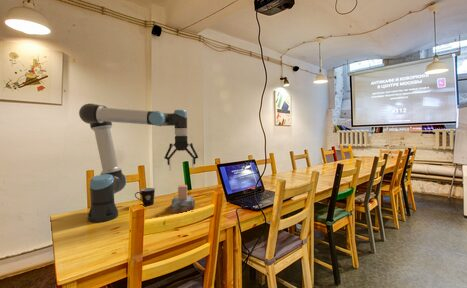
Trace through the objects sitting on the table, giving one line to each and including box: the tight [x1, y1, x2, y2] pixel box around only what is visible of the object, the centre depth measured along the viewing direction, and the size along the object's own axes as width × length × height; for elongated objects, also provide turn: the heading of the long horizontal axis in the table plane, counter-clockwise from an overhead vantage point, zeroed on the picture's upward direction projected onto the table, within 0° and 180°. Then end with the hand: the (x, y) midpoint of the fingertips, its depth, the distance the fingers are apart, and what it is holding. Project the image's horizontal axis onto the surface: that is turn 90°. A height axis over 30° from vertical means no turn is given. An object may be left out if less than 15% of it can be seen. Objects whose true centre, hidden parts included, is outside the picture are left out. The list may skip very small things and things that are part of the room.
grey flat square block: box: [169, 195, 196, 213], centre depth 151 cm, size 14×14×6 cm
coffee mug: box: [134, 187, 156, 207], centre depth 161 cm, size 12×9×10 cm
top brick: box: [177, 184, 188, 200], centre depth 151 cm, size 5×5×8 cm
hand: (181, 170), depth 150 cm, fingers open, 13 cm apart
